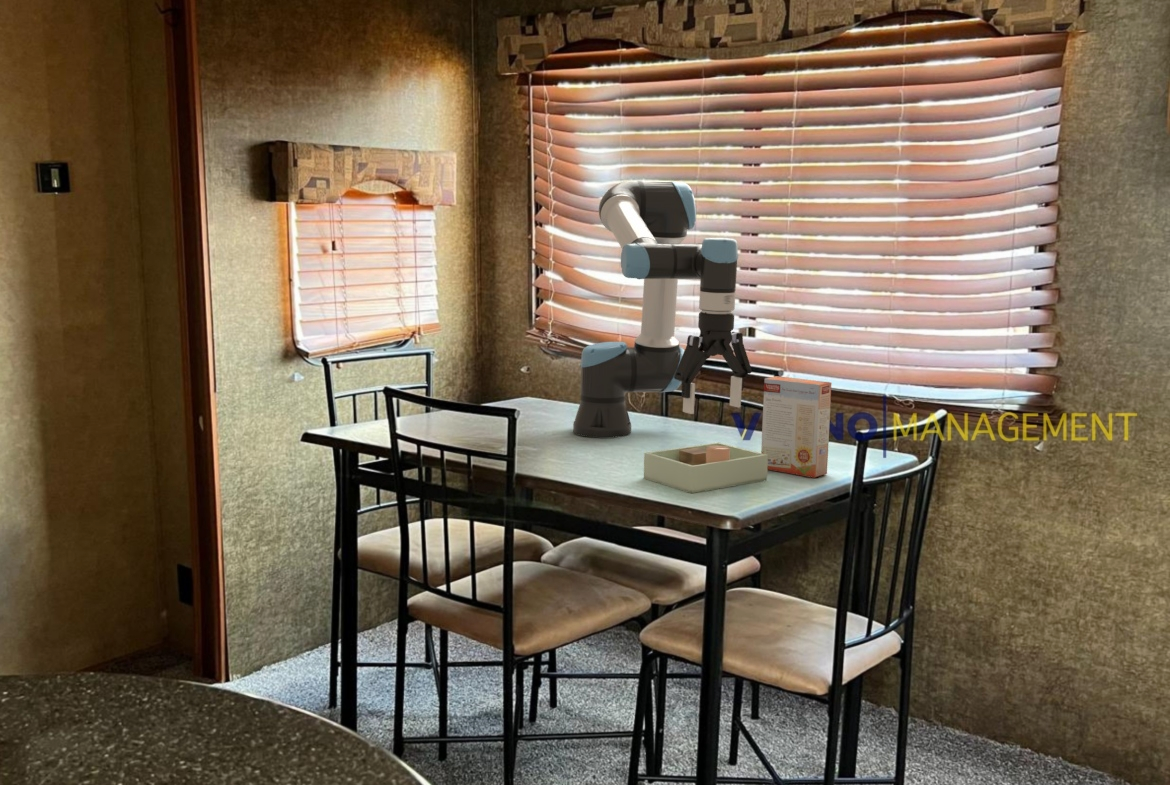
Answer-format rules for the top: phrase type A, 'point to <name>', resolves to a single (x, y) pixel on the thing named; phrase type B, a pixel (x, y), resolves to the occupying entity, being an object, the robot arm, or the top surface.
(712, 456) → the terracotta cylinder
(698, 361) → the robot arm
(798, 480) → the top surface
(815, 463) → the cracker box
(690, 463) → the walnut cube
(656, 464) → the sage tote
